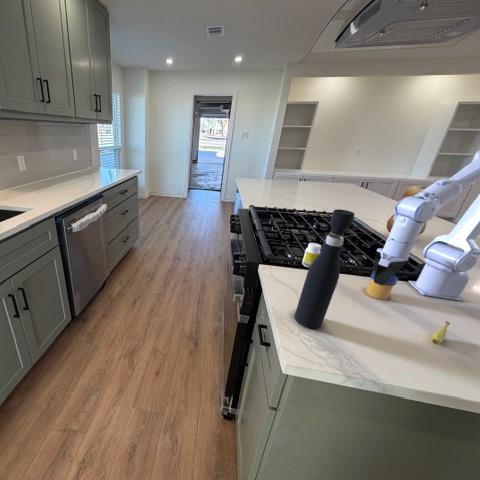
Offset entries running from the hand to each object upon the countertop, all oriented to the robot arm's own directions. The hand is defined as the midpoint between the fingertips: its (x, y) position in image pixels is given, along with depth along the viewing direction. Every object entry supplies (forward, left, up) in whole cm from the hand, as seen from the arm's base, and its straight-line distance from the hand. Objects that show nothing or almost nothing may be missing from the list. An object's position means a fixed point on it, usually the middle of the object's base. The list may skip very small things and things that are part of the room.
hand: (382, 280), depth 77 cm
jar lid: (0, 0, +2) cm, 2 cm away
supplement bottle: (+16, -14, -5) cm, 22 cm away
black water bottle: (+24, +20, -5) cm, 32 cm away
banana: (-5, +18, -5) cm, 19 cm away
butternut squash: (-35, -60, -5) cm, 70 cm away
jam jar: (0, 0, -5) cm, 5 cm away
